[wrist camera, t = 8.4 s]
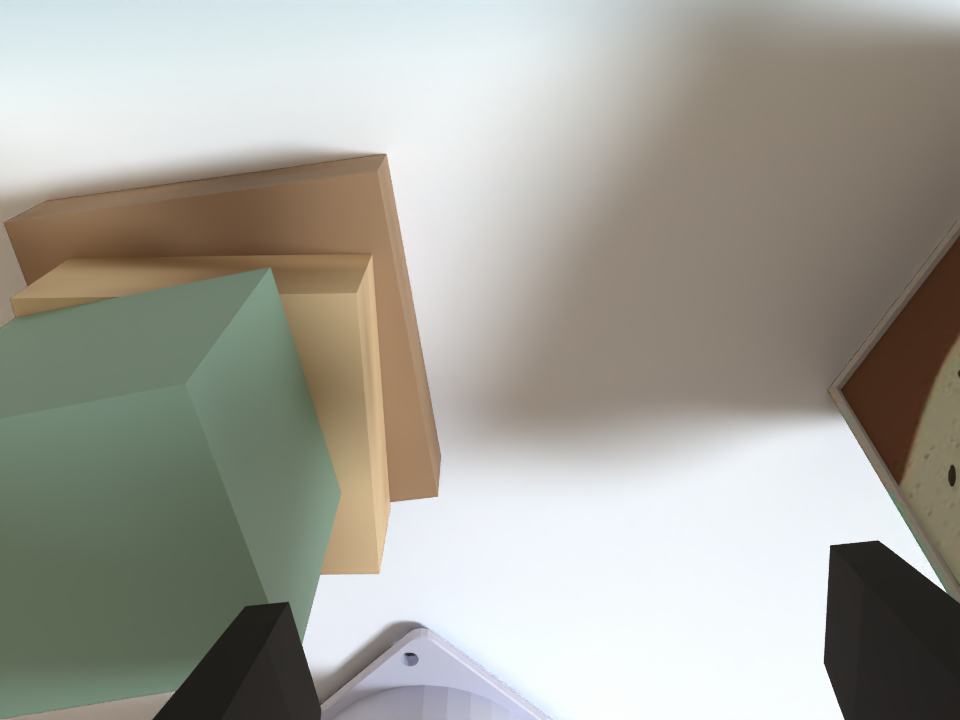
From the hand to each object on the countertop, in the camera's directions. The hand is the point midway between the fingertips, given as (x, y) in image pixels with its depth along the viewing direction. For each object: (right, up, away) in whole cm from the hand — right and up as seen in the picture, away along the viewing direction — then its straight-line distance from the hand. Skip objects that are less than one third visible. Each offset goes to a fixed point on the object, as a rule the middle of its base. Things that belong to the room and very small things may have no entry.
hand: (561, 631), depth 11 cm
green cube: (-7, +3, +5) cm, 9 cm away
